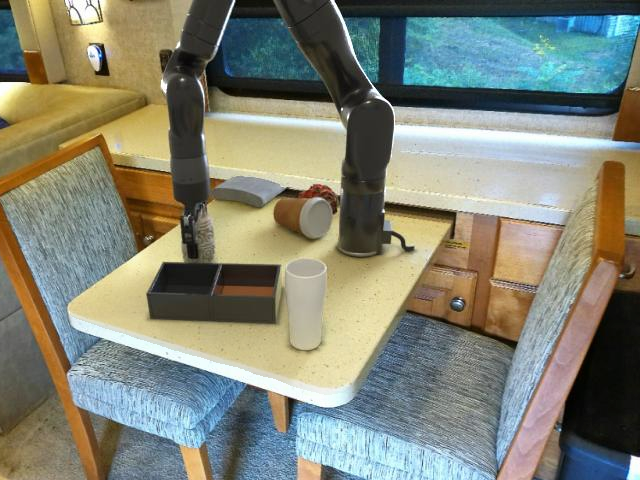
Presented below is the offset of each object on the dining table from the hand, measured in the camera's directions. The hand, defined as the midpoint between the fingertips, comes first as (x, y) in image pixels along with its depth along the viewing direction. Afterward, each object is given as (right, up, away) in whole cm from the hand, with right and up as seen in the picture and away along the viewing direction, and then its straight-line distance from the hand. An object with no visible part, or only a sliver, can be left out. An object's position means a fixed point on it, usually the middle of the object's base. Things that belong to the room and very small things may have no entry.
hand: (197, 248), depth 127 cm
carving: (0, -4, +2) cm, 4 cm away
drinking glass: (+20, -18, -23) cm, 36 cm away
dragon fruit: (+28, +10, +21) cm, 36 cm away
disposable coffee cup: (+19, +10, +16) cm, 27 cm away
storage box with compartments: (+5, -11, -11) cm, 17 cm away
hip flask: (+8, +16, +29) cm, 34 cm away
